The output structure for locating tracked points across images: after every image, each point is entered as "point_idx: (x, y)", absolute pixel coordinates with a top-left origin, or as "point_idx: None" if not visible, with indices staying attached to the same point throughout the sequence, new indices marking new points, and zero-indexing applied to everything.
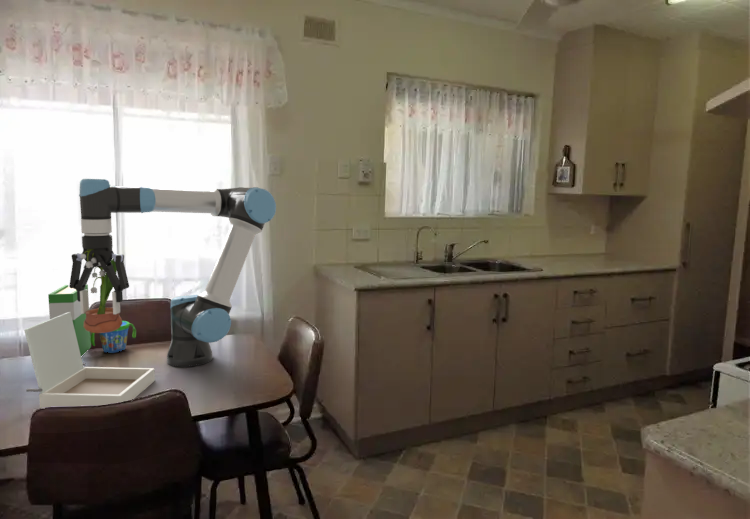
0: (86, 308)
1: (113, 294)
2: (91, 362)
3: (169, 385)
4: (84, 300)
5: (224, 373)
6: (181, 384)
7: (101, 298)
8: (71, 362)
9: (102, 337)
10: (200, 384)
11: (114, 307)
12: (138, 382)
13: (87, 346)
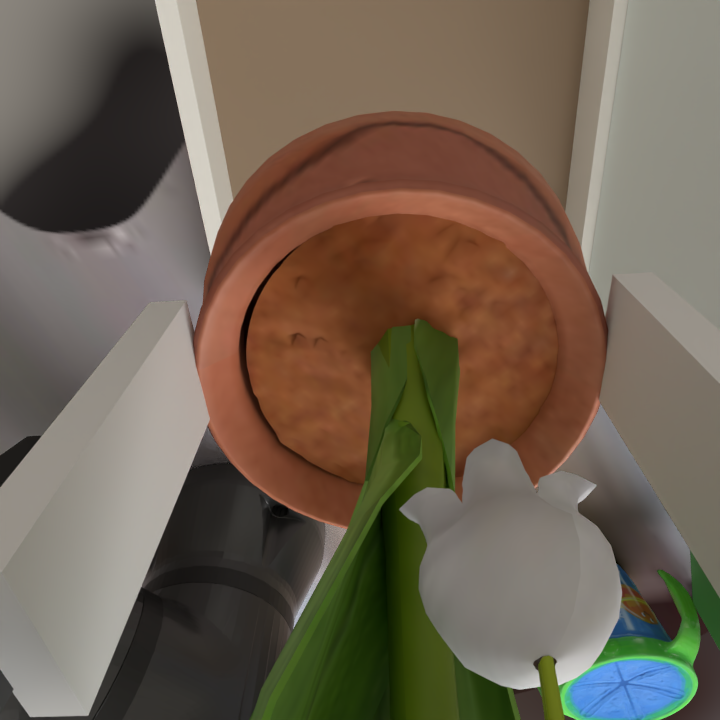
0: (621, 374)
1: (6, 517)
2: (623, 473)
3: (144, 277)
4: (699, 422)
5: (12, 422)
6: (100, 293)
7: (382, 492)
8: (630, 255)
9: (643, 614)
10: (20, 303)
11: (124, 350)
12: (192, 165)
13: (700, 588)
